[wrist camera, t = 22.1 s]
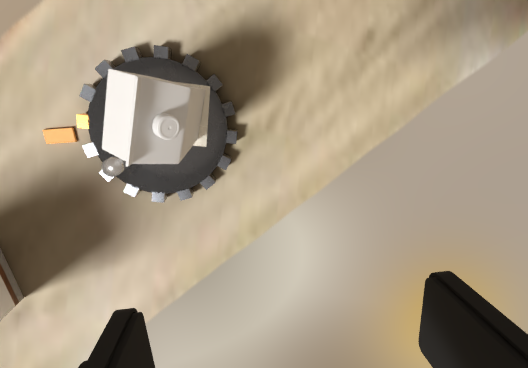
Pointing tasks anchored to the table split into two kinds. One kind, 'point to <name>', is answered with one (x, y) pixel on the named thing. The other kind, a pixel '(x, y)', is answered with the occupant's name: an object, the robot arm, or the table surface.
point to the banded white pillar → (7, 288)
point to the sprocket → (201, 153)
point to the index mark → (59, 135)
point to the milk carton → (150, 118)
